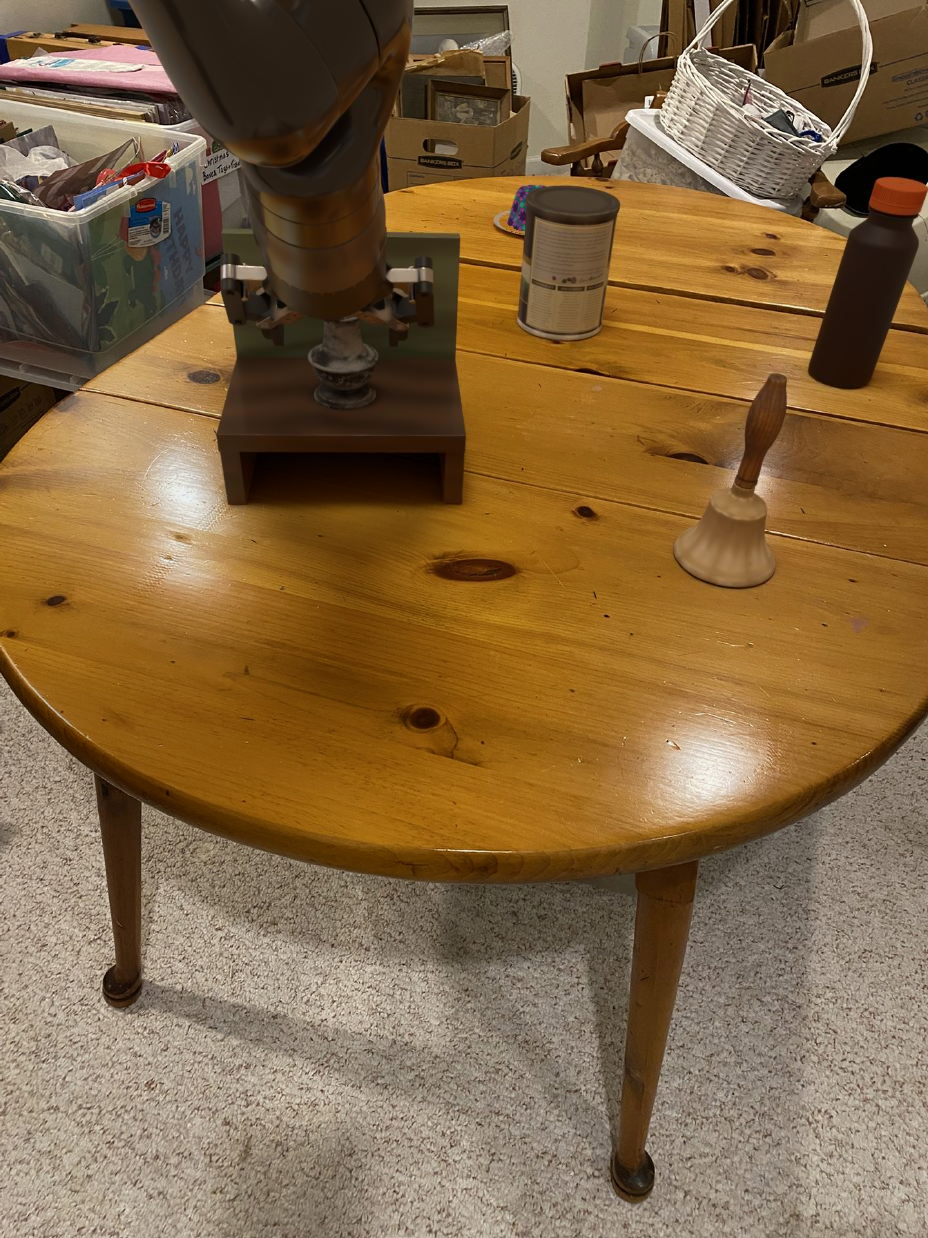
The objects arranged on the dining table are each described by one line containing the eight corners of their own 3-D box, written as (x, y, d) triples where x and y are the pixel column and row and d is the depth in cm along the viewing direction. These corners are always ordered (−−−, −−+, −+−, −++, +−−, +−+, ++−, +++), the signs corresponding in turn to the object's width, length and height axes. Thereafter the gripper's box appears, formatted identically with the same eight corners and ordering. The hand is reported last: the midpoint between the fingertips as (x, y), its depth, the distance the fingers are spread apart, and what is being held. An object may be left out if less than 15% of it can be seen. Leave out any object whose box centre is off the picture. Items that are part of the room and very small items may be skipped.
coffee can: (499, 315, 111) (507, 191, 102) (567, 300, 115) (581, 180, 106) (550, 348, 105) (564, 219, 95) (620, 331, 109) (640, 206, 100)
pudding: (568, 245, 130) (572, 206, 127) (485, 235, 132) (487, 196, 129) (579, 219, 139) (584, 182, 136) (502, 210, 141) (504, 173, 138)
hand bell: (713, 516, 80) (759, 341, 70) (795, 562, 76) (858, 382, 65) (652, 551, 76) (692, 371, 65) (735, 602, 71) (792, 416, 61)
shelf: (462, 507, 80) (472, 303, 68) (226, 507, 78) (195, 298, 66) (452, 420, 91) (459, 232, 79) (246, 419, 89) (222, 227, 78)
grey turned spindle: (388, 385, 81) (387, 246, 73) (365, 416, 77) (361, 271, 69) (325, 374, 82) (317, 236, 74) (299, 404, 78) (288, 260, 70)
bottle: (873, 393, 100) (945, 197, 87) (809, 384, 100) (870, 190, 87) (866, 366, 105) (932, 177, 92) (804, 358, 105) (861, 170, 92)
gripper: (442, 168, 54) (429, 286, 70) (195, 162, 53) (240, 284, 69) (444, 292, 54) (431, 383, 70) (195, 289, 53) (240, 382, 69)
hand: (336, 333), depth 70 cm, fingers open, 8 cm apart
